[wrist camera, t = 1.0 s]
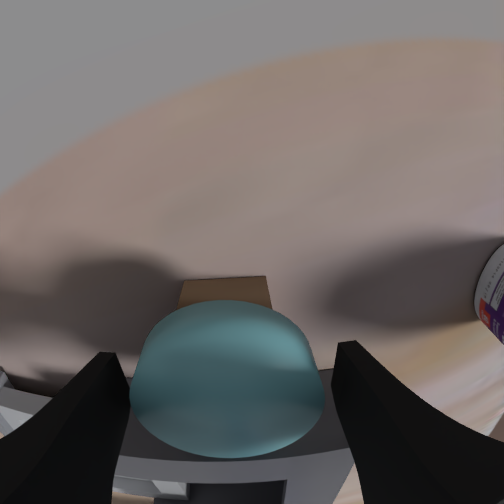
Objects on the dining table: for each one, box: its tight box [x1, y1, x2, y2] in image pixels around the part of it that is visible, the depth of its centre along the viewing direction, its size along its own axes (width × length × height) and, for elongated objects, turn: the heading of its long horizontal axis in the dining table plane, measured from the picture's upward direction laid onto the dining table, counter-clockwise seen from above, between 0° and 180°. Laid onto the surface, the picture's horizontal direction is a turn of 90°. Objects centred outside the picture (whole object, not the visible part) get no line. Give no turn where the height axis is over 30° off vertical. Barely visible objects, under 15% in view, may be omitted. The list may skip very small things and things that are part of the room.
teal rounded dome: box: [129, 300, 325, 458], centre depth 9 cm, size 6×6×2 cm
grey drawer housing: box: [115, 369, 354, 504], centre depth 14 cm, size 12×12×5 cm
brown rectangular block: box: [176, 276, 272, 310], centre depth 11 cm, size 3×3×4 cm
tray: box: [0, 371, 190, 500], centre depth 15 cm, size 11×12×3 cm
